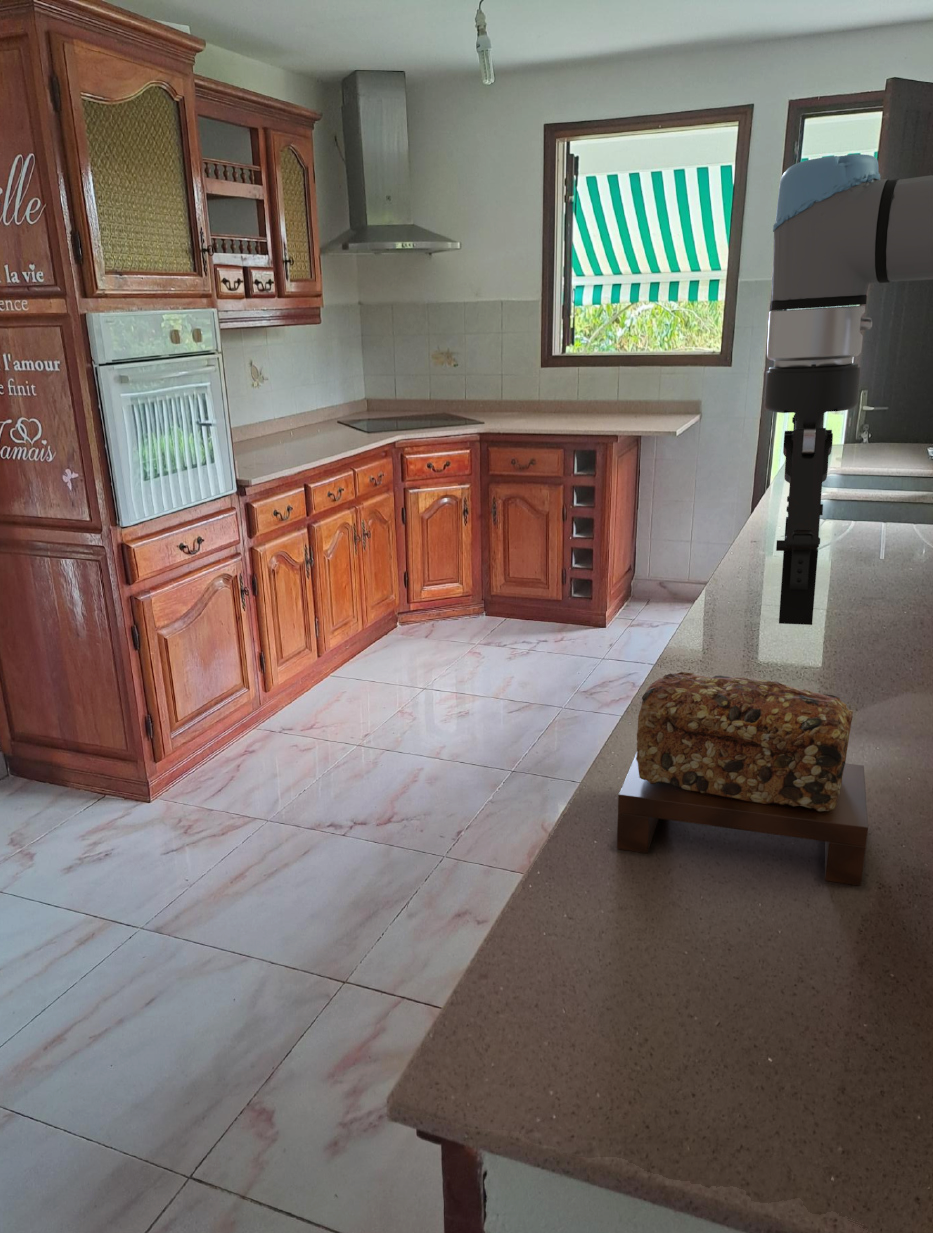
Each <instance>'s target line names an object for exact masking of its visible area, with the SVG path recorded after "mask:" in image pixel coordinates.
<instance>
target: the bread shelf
mask: <svg viewBox="0 0 933 1233" xmlns="http://www.w3.org/2000/svg"><path fill="white" fill-rule="evenodd" d="M636 757H637V751H636V752H635V754H634V756H633V759H632V761H631V764H630V767H629V768H628V771H627V773H626V776H625V778H624V780H623V783H622V785H621V787H620V790H619V792H618V795H617V824H616V826H617V828H616V829H617V831H616V832H617V833H616V849H617V850H623V851H629V852H636V853H641V854H642V853H643V854H648V853H649V850H650V847H651V844H652V841H653V837H654V835H655V832H656V829H657V825H658V823H659V820H660V819H661V820H667V821H675V822H681V823H688V824H689V823H691V824H696V825H704V826H711V827H718V828H726V829H733V830H740V831H746V832H747V831H748V832H752V833H753V832H754V833H760V834H761V833H762V834H768V835H775V836H783V837H790V838H797V839H805V840H811V841H813V840H814V841H819V842H824V881H827V882H831V883H840V884H846V885H852V886H860V887H861V885H862V878H863V870H864V864H865V855H866V848H867V840H868V834H869V833H868V832H869V820H868V819H869V818H868V806H867V792H866V791H867V790H866V778H865V777H866V776H865V766H864V765H863V764H854V763H847V762H845V763H846V764H845V766H844V771H843V777H842V783H841V787H840V795H839V794H838V799H837V803H836V807H835V808H834V809H832V810H828V811H817V810H816V809H814V808H807V807H804V806H794V807H793V806H791V805H788V804H784V805H781V804H777V803H769V804H761V803H756V802H751V801H745V800H740V799H735V798H730V797H724V796H719V795H715V794H709V793H701V792H698V791H690V790H686V789H682V787H681V786H679V787H676V786H674V785H672V784H669V783H665V782H657V783H655V784H651V783H650V782H648V781H647V780H646V779H645V780H643V779H641V778H639V770H638V763H637V760H636Z"/></svg>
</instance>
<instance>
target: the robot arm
mask: <svg viewBox="0 0 933 1233" xmlns="http://www.w3.org/2000/svg"><path fill="white" fill-rule="evenodd" d="M778 186H779V187H778V195H777V196H778V197H777V206H776V213H775V223H774V224H773V225H772V226H773V227H772V232H773V251H772V252H773V254H772V256H773V258H772V283H771V301H770V311H768V328H767V344H766V345H767V346H766V347H767V348H766V358H767V359H768V360H769V361H773V366H770V367H769V368H768V370H766V374H765V392H764V407H765V409H766V410H767V411H769V412H772V413H779V414H789V413H790V414H791V413H792V414H793V416H792V421H791V423H793V430H784V434H783V435H784V436H783V449H782V454H783V456H784V457H785V460H784V463H785V465H784V480H785V482H786V483H788V484H789V488H788V489H789V490H788V496H787V497H786V502H787V503H788V504H787V506H786V512H787V516H786V517H785V526H784V540H782V539H777V540H776V547H775V551H776V552H783V555H782V556H783V557H782V571H781V583H780V584H781V585H780V600H779V613H778V614H779V615H778V624H779V625H782V624H783V625H801V626H802V625H805V626H812V625H813V621H814V620H813V619H814V618H813V617H814V607H815V606H814V605H815V595H816V594H815V593H816V582H817V568H818V559H819V558H818V556H819V548H820V545H821V537H820V522H821V521H820V520H821V516H823V512H824V504H823V503H822V492H823V490H822V489H823V483H824V482H825V481H826V480H827V478H828V470H829V457H830V455H831V454H832V449H833V440H834V433H833V430H832V429H827V428H826V427H824V423H825V421H824V420H825V413H827V412H835V413H837V412H843V411H848V410H852V409H853V408H855V407H856V406H857V405H858V402H859V401H858V400H859V391H860V381H861V380H860V378H861V369H862V368H861V366H859V363H857V362H853V360H854V358H855V357H858V356H859V355H861V354H862V347H863V337H864V335H862V333H861V331H867V330H871V329H872V328H873V320H872V318H871V317H862V316H863V315H864V314H865V313H866V306H865V305H867V303H868V302H867V301H868V300H867V299H868V296H867V294H868V290H869V284H875V283H879V284H888V283H891V282H892V283H893V282H908V281H909V282H910V281H927V280H933V175H932V174H931V175H924V176H917V177H911V178H910V177H909V178H902V179H899V178H896V179H889V178H884V179H881V173H880V172H879V161H878V159H877V158H876V157H875V156H874V155H871V154H861V153H860V154H859V153H858V154H857V153H854V154H846V155H833V156H832V155H831V156H824V157H817V158H811V159H806V160H803V161H800V162H799V161H798V162H795V164H793V165H791V166H789V167H788V168H787V169H786V170H785V171H784V172H783V174H782V175H781V177H780V181H779V185H778Z"/></svg>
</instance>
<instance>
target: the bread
mask: <svg viewBox="0 0 933 1233" xmlns="http://www.w3.org/2000/svg"><path fill="white" fill-rule="evenodd" d="M853 711H854V710H852V709H850V708H848V707H847V704H846V703H845V702H843V701H841V699H840V697H838V695H833V694H827V693H819V692H814V691H811V690H808V689H800V688H798V687H793V686H790V685H787V684H785V683H783V682H781V681H777V680H774V681H772V680H771V681H770V680H768V679H755V678H748V677H745V676H742V677H741V676H740V677H739V676H738V677H734V676H733V677H732V676H727V675H715V676H712V677H708V676H703V675H699V674H695V673H693V672H688V671H687V672H686V671H680V672H677V673H668V674H665V675H662V676H661V677H659V678H658V679H656V680H653V681H652V682H651V683H650V684H649V686H648V687H647V688H646V690H645V692H644V694H643V695H642V696H641V707H640V710H639V713H638V717H637V731H636V741H637V742H636V752H637V757H636V760H637V763H638V770H639V778H641V779H643V780H645V779H646V780H647V781H648V782H650V783H651V784H655V783H657V782H665V783H669V784H672V785H674V786H676V787H679V786H681V787H682V789H686V790H690V791H698V792H701V793H709V794H715V795H719V796H724V797H730V798H735V799H740V800H745V801H751V802H756V803H761V804H769V803H777V804H781V805H784V804H788V805H791V806H793V807H794V806H804V807H807V808H814V809H816V810H817V811H828V810H832V809H834V808H835V807H836V803H837V799H838V794H839V795H840V787H841V783H842V777H843V771H844V766H845V764H846V763H847V762H846V761H847V754H848V747H849V741H850V735H851V734H850V733H851V728H852V722H853V713H854V712H853Z"/></svg>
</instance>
